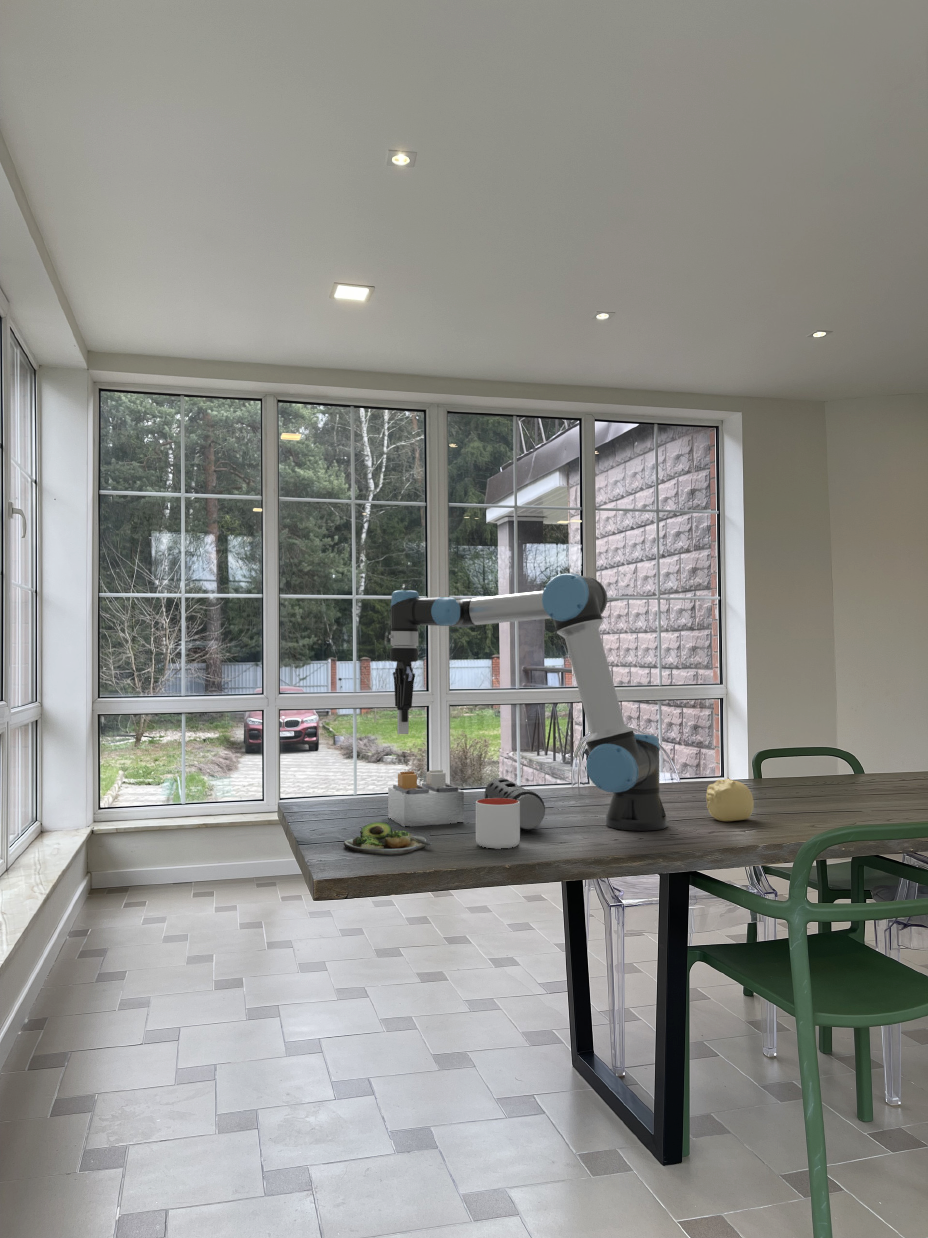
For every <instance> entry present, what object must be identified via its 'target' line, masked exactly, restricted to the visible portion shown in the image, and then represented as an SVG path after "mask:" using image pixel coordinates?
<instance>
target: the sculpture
mask: <svg viewBox="0 0 928 1238" xmlns="http://www.w3.org/2000/svg"><path fill="white" fill-rule="evenodd" d="M705 801H706V803H707V804H706V808H707V809H708V813H709V814H710V816H711V817H713V818H714V819H715V820H717V821H720V822H734V821H743V820H748V819H750V817H751V816H752V813H753V810H754V805H755V803H754V796H753V794H752V792H751V790H750V789H749V787H748V786H747V785H746V784H744V783H742V782H740V781H736V780H732V779H731V778H726V779H717V780H716V781H714V783H710V784H708V786H707V789H706V794H705Z"/></svg>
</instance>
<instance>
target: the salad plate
mask: <svg viewBox="0 0 928 1238" xmlns="http://www.w3.org/2000/svg"><path fill="white" fill-rule="evenodd" d="M359 833H360V834H359V835H360V836H356V837H355V838H354V837H353V838H351V839H346V840H344V842H343V846H344V848H345V849H346V850H347V851H350V852H355V853H363V854H372V855H403V854H404V855H405V854H409V853H411V852H415V851H417V850H420V849H422V848H424V847H427V846H432V845H433V843H432V842H428V841H427V839H426V838H425V837H423V836H418V835H416V836H415V835H413V833H410V831H406V830H393V827H391V825H390V824H388V823H386V822H380V821H375V822H370V823H368V824H366V825H364V826H363V827H362V828H361V829H360V831H359ZM414 850H415V851H414ZM408 852H409V853H408Z"/></svg>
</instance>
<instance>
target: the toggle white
mask: <svg viewBox="0 0 928 1238" xmlns="http://www.w3.org/2000/svg"><path fill="white" fill-rule="evenodd" d="M425 775H426V777H425V778H426V783H425V784H427V785H430V786H432V787H443V786H446V783H447V779H446V778H447V777H446V776H447V775H446V772H444V770H443V769H435V770H434V769H432V770H428V771H426V773H425Z"/></svg>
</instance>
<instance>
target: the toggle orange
mask: <svg viewBox="0 0 928 1238" xmlns="http://www.w3.org/2000/svg"><path fill="white" fill-rule="evenodd" d="M417 784H418V775H417V774H416V773H415V770H411V771H409V770H408V771H400V773H399V772H398V773H397V786H399V787H402V788H404V789H409V788H417Z"/></svg>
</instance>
